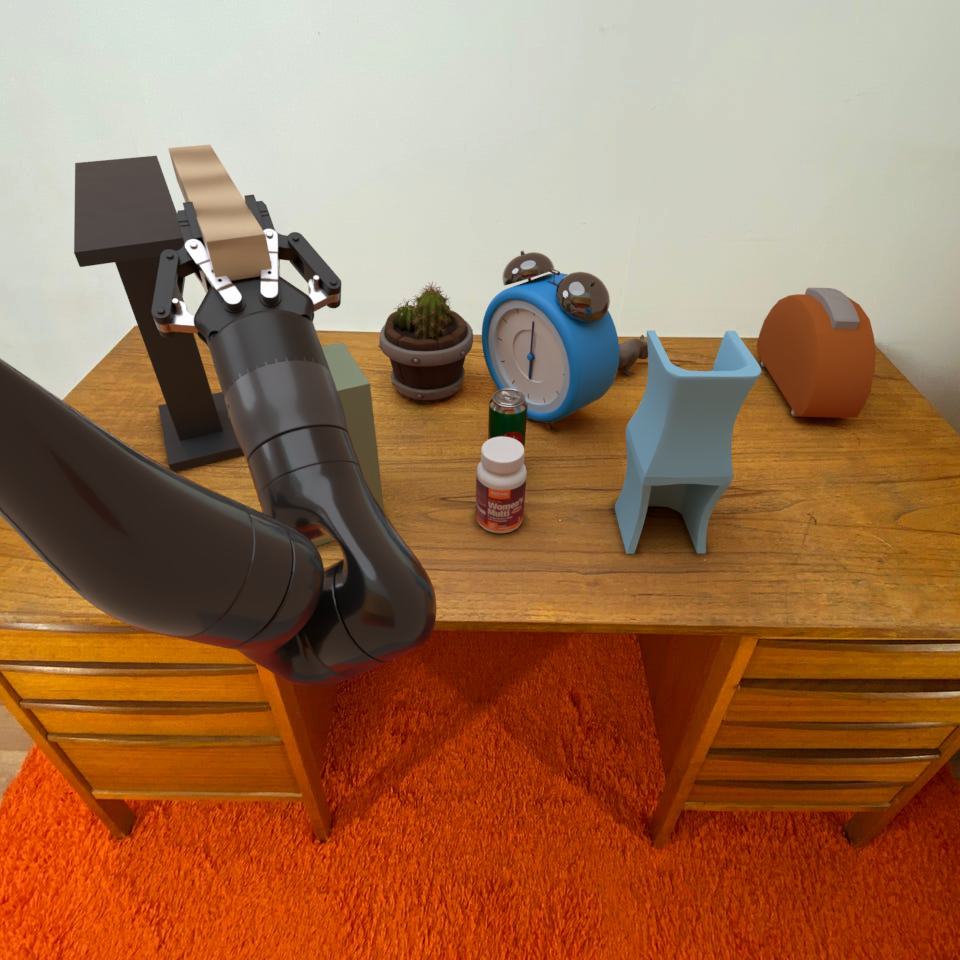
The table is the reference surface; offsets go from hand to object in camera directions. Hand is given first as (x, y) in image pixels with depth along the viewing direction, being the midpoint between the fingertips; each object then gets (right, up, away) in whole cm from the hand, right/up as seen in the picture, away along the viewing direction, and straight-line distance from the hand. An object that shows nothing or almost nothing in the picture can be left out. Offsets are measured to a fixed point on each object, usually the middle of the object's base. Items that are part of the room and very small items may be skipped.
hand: (219, 207), depth 50 cm
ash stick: (-3, +2, +6) cm, 7 cm away
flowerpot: (+12, -6, +57) cm, 58 cm away
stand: (-22, -14, +46) cm, 53 cm away
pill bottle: (+23, -26, +33) cm, 48 cm away
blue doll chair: (+43, -27, +32) cm, 60 cm away
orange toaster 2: (+74, -6, +58) cm, 94 cm away
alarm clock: (+30, -10, +53) cm, 62 cm away
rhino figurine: (+45, -2, +62) cm, 77 cm away
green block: (+2, -25, +33) cm, 42 cm away
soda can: (+24, -20, +41) cm, 51 cm away
